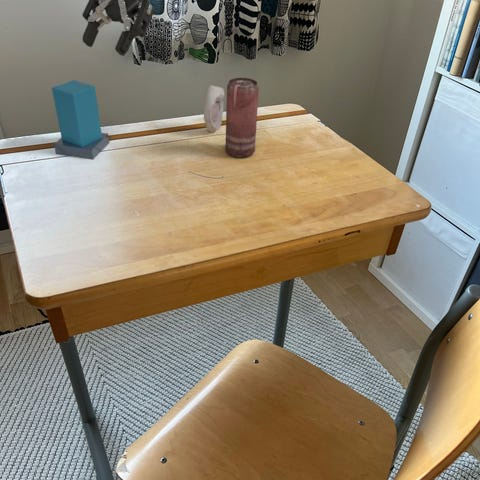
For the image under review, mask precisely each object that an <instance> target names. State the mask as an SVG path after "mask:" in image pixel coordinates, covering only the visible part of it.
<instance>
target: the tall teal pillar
mask: <svg viewBox="0 0 480 480" xmlns="http://www.w3.org/2000/svg"><path fill="white" fill-rule="evenodd" d="M51 93H52V97H53V102H54V106H55V112H56V118H57V122H58V127H59V133H60V137H61V138H62V140H65V141H67V142H70V143H73V144H75V145H78V146H81V147H83V146H85V145H87V144H89V143H91V142H94V141H96V140H98V139H100V138H102V133H103V132H102V126H101V120H100V113H99V107H98V105H99V104H98V100H97V99H98V98H97V93H96V86H95V85H91V84H88V83H84V82H82V81H78V80H75V79H73V80H69V81H67V82H64V83H61V84H58V85H55V86H52V87H51Z"/></svg>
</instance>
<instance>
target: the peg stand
mask: <svg viewBox="0 0 480 480" xmlns="http://www.w3.org/2000/svg"><path fill="white" fill-rule="evenodd" d="M101 133H102V138H100V139H98V140H96V141H94V142H91V143H89V144H87V145H85V146H83V147H81V146H78V145H75V144H73V143H70V142H67V141H65V140H62V137H61V138H59V139H58V140H56V142H55V143H53V146H54V151H55V154H56V155H62V156H69V157H75V158H82V159H88V160H89V159H90V160H95V158H96V157H97V156H98V155H99V154H100V153H101V152H102V151H103V150H104V149H105V148H106V147H107V146H108V145H109V144H110V137H109V133H107V132H101Z"/></svg>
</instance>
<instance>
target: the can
mask: <svg viewBox="0 0 480 480" xmlns="http://www.w3.org/2000/svg"><path fill="white" fill-rule="evenodd" d="M259 91H260V87H259V84H258V81H257V80H256V79H253V78H249V77H233V78H231V79H229V80H228V83H227V85H226V104H225V105H226V106H225V107H226V109H225V113H226V114H225V146H224V148H225V152H226V154H227V156H229V157H232V158H234V159H247V158H250V157H252V156H253V154H255V151H256V139H257V138H256V137H257V124H258V123H257V122H258V121H257V120H258V107H259V94H260V93H259Z"/></svg>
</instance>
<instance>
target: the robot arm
mask: <svg viewBox="0 0 480 480" xmlns="http://www.w3.org/2000/svg"><path fill="white" fill-rule="evenodd" d="M104 11H105V13H104ZM154 13H155V8H154V7H153V5H152V4H151V3H150V2H149V0H88V1H87V3H86V6H85V7H84V10H83V11H82V15H81V16H82V17H83V18H84V20H85V21H86V22H87V25H86V27H85V30H84V32H83V35H82V42H83V43H84V44H85V45H86V46H87V47H90V48H92V47H93V46H94V44H95V41H96V39H97V36H98V34H99V32H100V29H101V28H102V27H103V26H104V25H109V24H110V23H112V22H115V23H120V24H123V29H124V30H122V31H121V33H120V35H119V38H118V40H117V43H116V44H115V47H114V49H115V51H116V53H118V55H119V56H122V57H123V56H125V55H126V54H127V53H128V51H130V50H129V49H130V48H131V45H132V42H133V41H134V40H135V39H136V38H137V37H140V38H145V36H146V33H148V32H147V31H148V29H149V27H150V23H151V21H152V18H153V16H154ZM99 18H100V19H99ZM98 19H99V20H98Z"/></svg>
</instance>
